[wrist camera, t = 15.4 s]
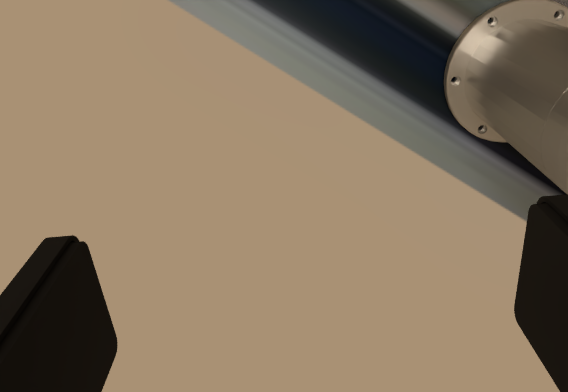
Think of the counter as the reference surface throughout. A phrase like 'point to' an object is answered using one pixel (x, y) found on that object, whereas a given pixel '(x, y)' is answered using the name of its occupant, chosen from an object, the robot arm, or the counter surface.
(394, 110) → the counter surface
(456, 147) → the counter surface
